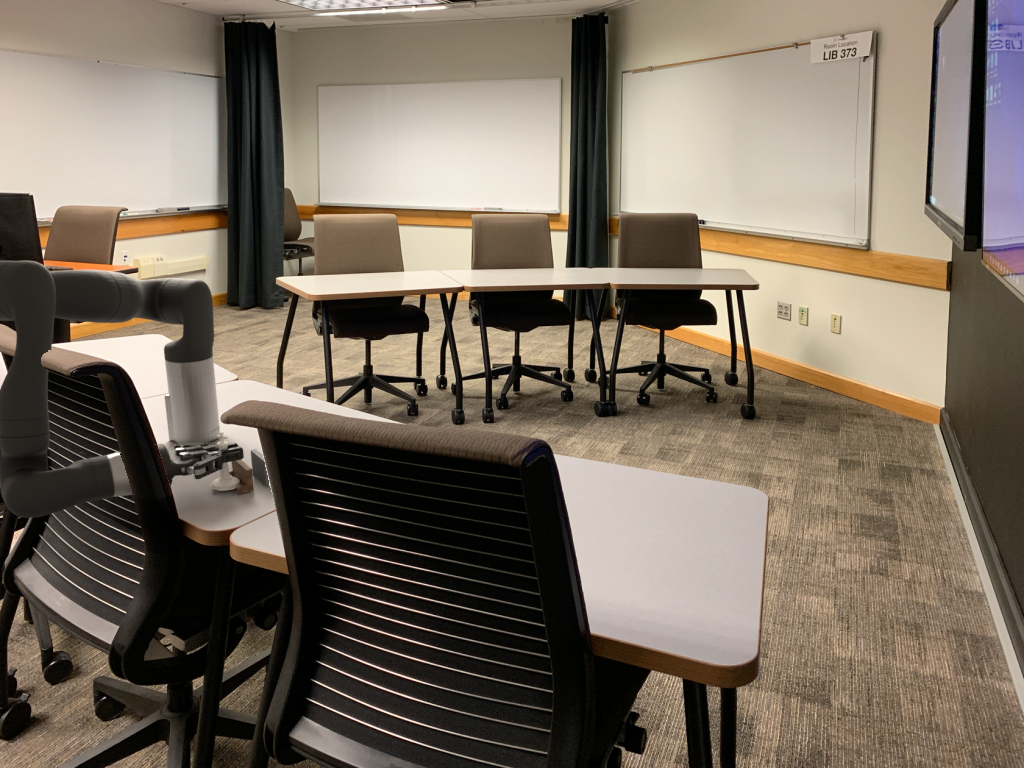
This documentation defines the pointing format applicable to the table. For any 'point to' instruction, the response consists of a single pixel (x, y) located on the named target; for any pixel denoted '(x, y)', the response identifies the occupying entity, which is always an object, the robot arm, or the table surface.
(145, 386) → the table surface
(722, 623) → the table surface
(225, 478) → the chess piece
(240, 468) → the sliding block
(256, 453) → the backstop wall
